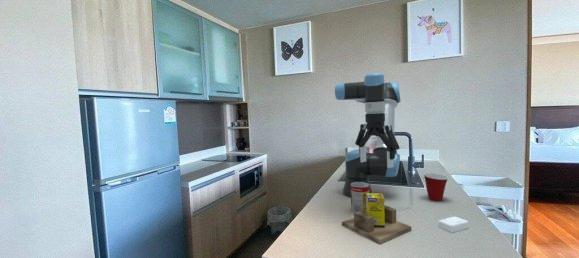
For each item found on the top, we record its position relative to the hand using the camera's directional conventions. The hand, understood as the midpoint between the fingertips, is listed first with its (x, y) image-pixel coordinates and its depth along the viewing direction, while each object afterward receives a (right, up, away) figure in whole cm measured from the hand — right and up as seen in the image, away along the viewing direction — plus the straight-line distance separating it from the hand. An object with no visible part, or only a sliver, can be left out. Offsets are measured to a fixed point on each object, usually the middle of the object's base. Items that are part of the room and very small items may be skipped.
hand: (376, 164), depth 106 cm
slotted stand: (-3, -23, -9) cm, 25 cm away
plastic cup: (+36, -20, +19) cm, 45 cm away
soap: (+25, -22, -11) cm, 35 cm away
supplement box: (-3, -21, -9) cm, 23 cm away
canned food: (-4, -22, +8) cm, 24 cm away
